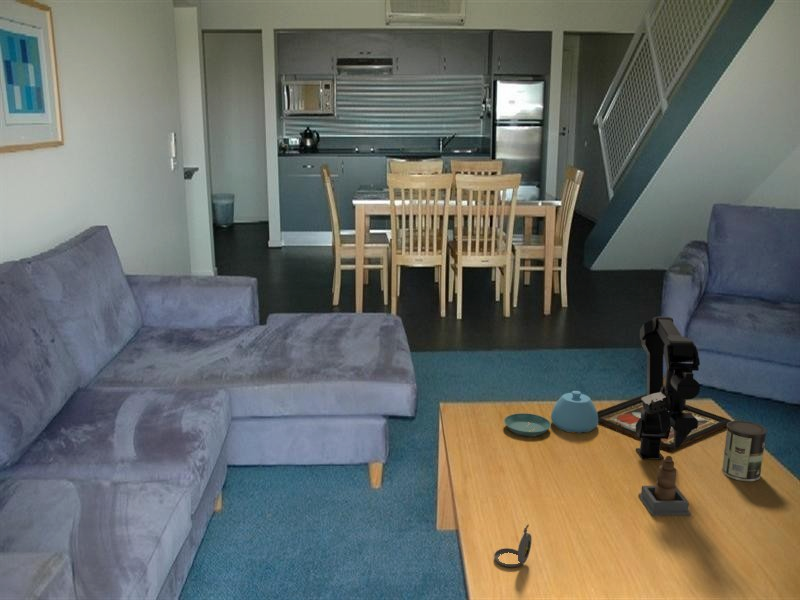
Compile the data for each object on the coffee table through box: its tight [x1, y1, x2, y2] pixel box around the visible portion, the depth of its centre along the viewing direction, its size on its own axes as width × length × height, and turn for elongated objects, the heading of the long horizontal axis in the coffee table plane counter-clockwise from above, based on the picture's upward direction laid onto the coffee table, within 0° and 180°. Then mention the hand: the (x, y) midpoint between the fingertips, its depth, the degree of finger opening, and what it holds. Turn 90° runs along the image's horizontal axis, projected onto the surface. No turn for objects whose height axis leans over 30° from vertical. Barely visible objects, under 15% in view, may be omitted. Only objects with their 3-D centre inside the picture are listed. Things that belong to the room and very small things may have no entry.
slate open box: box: [637, 485, 692, 517], centre depth 201 cm, size 10×10×3 cm
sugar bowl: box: [550, 390, 599, 434], centre depth 250 cm, size 15×15×12 cm
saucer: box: [503, 412, 552, 437], centre depth 247 cm, size 15×15×3 cm
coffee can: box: [721, 420, 768, 482], centre depth 218 cm, size 10×10×14 cm
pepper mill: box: [654, 455, 678, 501], centre depth 199 cm, size 5×5×13 cm
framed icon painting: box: [597, 393, 732, 453], centre depth 254 cm, size 38×35×3 cm
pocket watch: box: [493, 524, 532, 568], centre depth 174 cm, size 8×8×10 cm
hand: (670, 439), depth 210 cm, fingers open, 9 cm apart
